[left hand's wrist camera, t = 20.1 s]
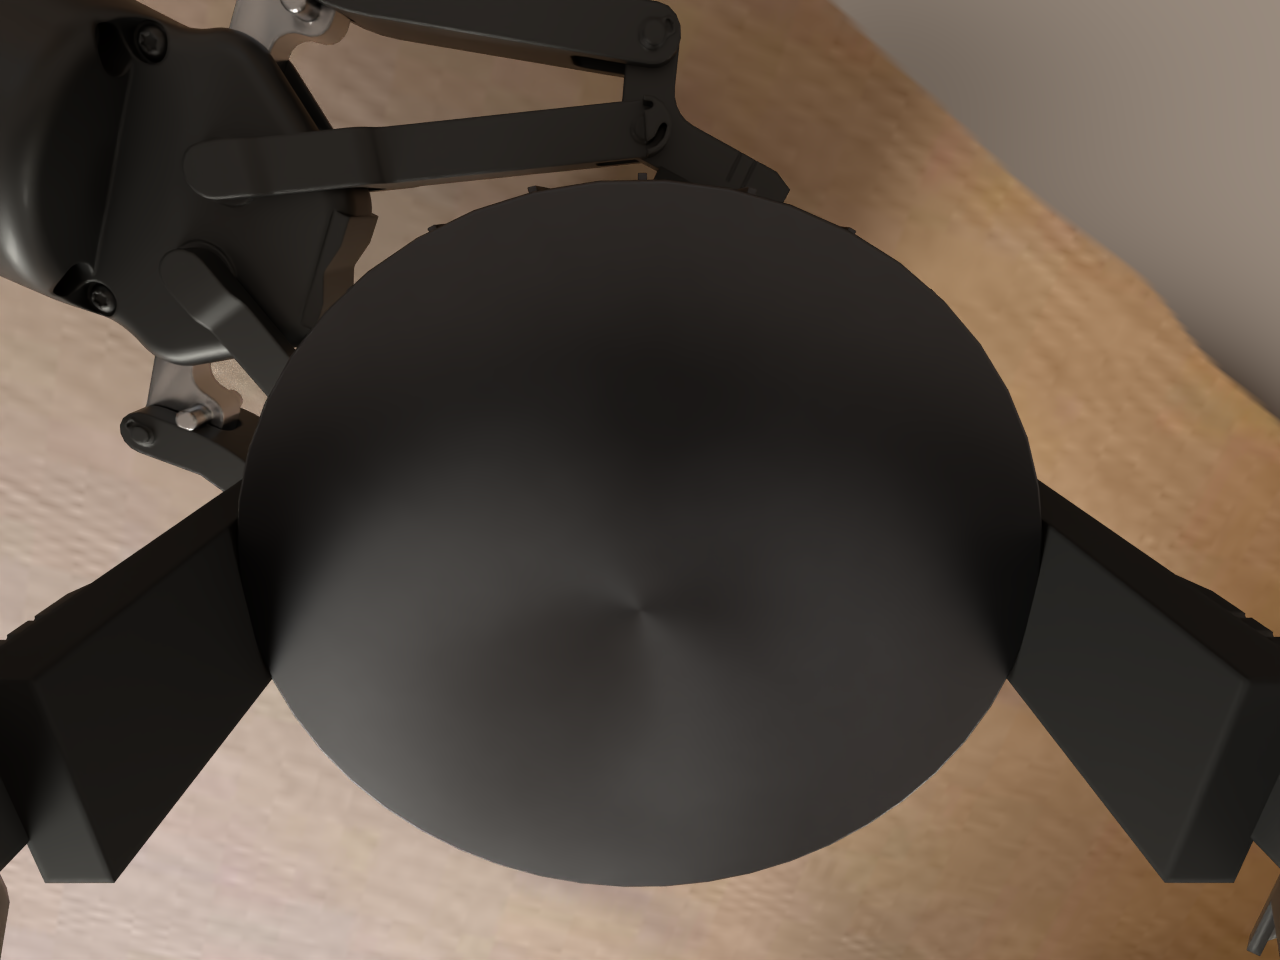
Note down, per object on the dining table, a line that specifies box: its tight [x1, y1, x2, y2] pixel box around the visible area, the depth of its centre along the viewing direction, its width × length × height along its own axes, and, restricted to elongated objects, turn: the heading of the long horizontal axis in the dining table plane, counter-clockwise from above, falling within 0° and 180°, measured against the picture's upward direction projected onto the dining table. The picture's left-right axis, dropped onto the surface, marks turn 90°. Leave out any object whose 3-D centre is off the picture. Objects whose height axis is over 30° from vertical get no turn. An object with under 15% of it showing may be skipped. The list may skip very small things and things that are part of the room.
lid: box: [237, 173, 1043, 887], centre depth 11 cm, size 12×12×2 cm
